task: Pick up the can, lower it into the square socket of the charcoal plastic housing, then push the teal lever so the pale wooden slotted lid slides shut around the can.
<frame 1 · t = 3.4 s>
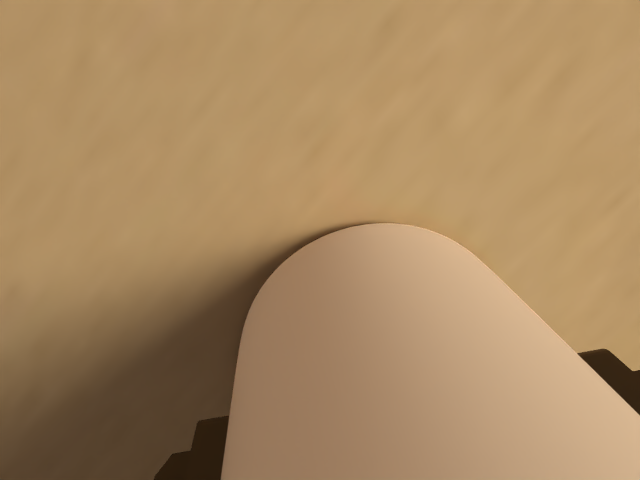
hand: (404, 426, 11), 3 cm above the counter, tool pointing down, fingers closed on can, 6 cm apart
can: (373, 342, 14), on the counter, touching gripper
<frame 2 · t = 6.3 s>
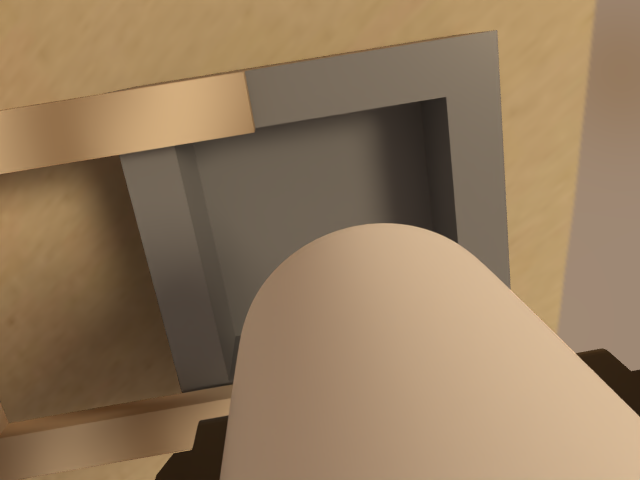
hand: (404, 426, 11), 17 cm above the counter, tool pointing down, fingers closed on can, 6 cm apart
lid: (36, 370, 16), point 11 cm above the counter, slide at -9.0 cm
housing: (320, 214, 27), on the counter
can: (372, 341, 14), point 14 cm above the counter, touching gripper
when the fingers open (5 cm above the counter, at t = 9.0 s): can drops 1 cm, resting on housing.
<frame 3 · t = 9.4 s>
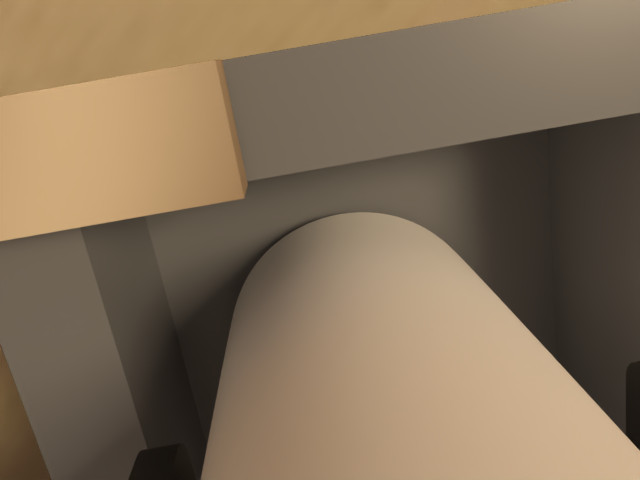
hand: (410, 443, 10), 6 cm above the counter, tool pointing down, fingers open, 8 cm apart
housing: (363, 305, 16), on the counter
can: (354, 322, 15), point 1 cm above the counter, touching housing
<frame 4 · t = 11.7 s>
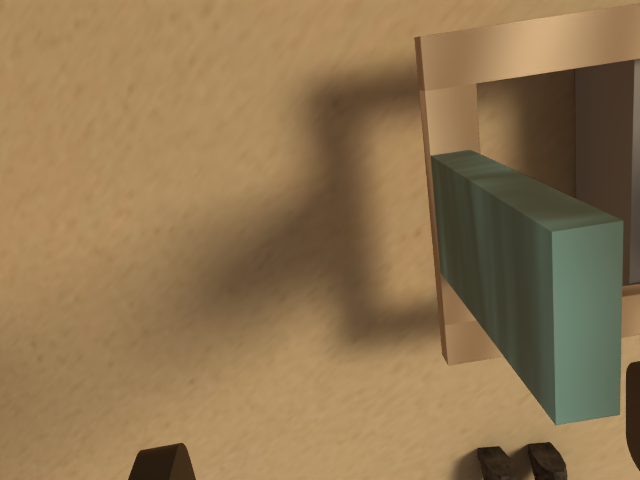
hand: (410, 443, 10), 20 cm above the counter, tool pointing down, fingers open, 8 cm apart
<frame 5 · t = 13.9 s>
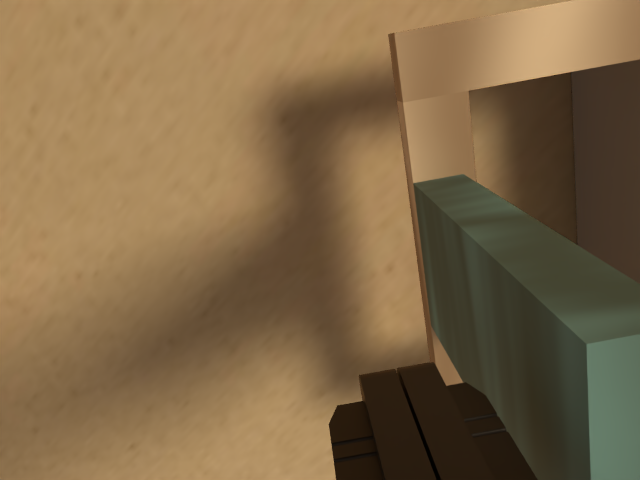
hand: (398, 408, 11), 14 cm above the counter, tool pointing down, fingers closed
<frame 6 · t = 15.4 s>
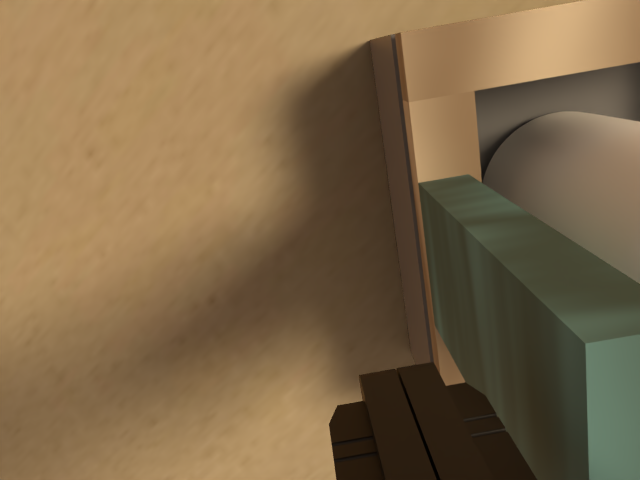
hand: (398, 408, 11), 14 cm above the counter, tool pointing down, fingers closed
housing: (551, 181, 25), on the counter
can: (551, 188, 24), point 1 cm above the counter, touching housing
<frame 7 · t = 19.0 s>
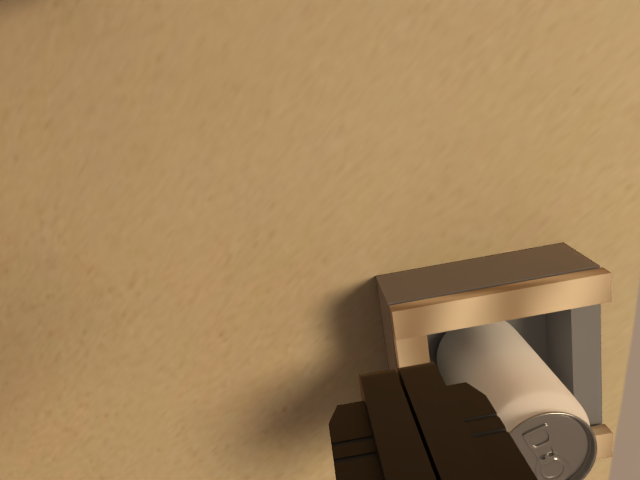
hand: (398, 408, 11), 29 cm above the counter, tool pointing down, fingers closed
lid: (540, 433, 33), point 11 cm above the counter, slide at 0.0 cm
housing: (477, 343, 44), on the counter
can: (476, 350, 43), point 1 cm above the counter, touching housing
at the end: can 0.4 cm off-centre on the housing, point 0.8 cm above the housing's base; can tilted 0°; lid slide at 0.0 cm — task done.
